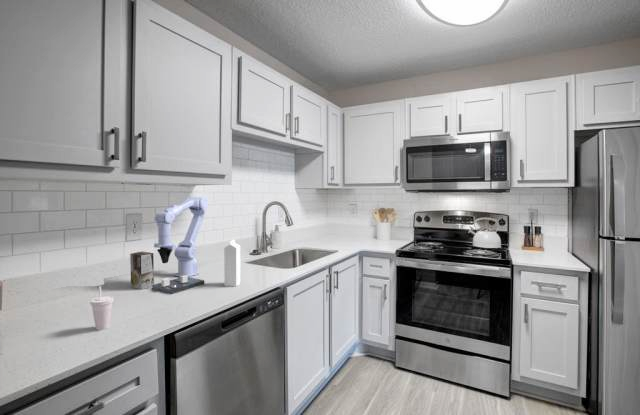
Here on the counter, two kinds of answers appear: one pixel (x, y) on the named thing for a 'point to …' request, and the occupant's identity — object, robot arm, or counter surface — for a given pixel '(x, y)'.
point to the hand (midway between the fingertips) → (165, 262)
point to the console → (178, 285)
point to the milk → (232, 264)
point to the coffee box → (142, 270)
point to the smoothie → (102, 311)
